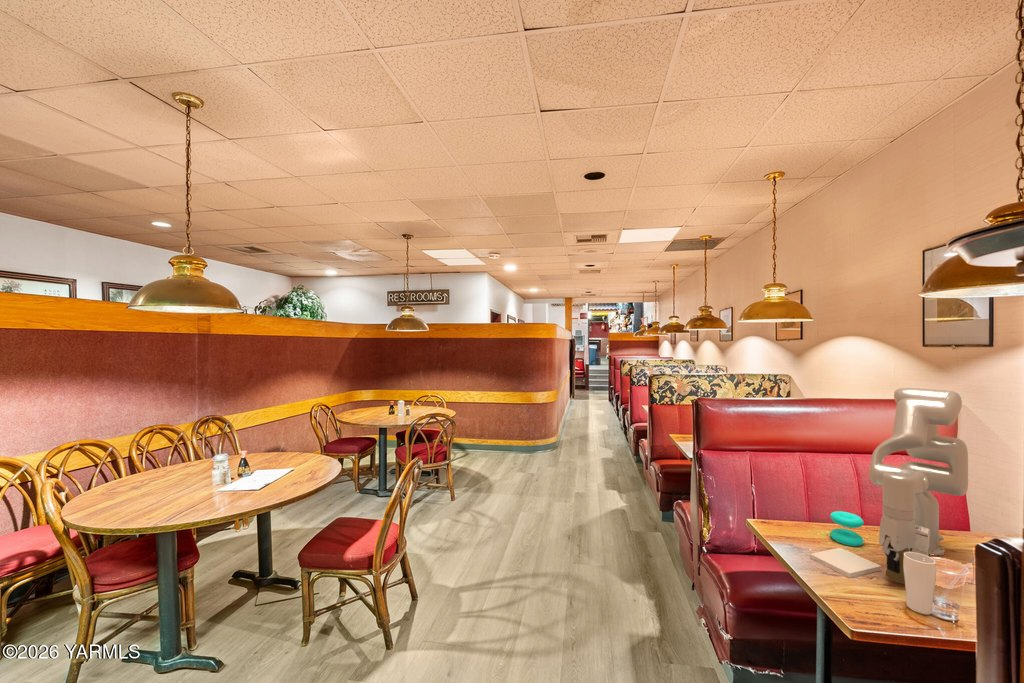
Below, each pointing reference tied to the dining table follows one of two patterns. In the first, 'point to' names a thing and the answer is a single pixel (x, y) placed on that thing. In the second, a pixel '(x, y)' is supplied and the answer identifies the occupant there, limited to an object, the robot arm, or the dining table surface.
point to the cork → (900, 576)
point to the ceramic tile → (845, 562)
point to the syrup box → (921, 540)
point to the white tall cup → (919, 581)
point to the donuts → (844, 534)
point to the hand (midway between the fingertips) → (898, 569)
